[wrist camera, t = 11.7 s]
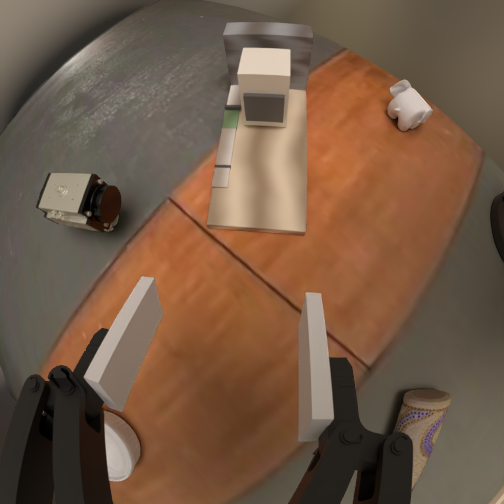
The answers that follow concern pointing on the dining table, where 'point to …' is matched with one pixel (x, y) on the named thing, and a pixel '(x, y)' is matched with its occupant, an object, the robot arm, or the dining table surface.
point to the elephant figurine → (407, 106)
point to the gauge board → (263, 142)
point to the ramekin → (120, 447)
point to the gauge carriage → (264, 86)
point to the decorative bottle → (422, 423)
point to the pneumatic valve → (80, 201)
